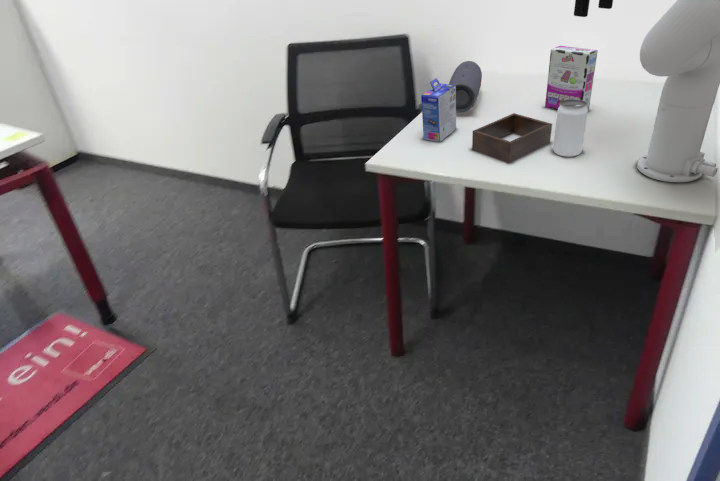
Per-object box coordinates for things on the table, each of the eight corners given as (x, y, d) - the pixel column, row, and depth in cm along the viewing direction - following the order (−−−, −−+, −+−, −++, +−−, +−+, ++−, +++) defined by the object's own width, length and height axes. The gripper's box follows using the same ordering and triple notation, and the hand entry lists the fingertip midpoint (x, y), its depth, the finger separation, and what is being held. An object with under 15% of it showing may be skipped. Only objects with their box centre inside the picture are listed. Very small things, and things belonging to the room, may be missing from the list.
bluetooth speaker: (477, 117, 152) (478, 82, 146) (444, 116, 154) (444, 82, 149) (482, 90, 170) (484, 58, 165) (453, 90, 172) (453, 59, 167)
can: (583, 157, 125) (590, 107, 119) (554, 157, 127) (560, 108, 120) (579, 146, 130) (586, 98, 124) (551, 146, 132) (557, 98, 125)
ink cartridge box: (438, 126, 149) (438, 73, 141) (456, 129, 146) (457, 75, 138) (421, 139, 142) (420, 85, 134) (440, 142, 139) (439, 87, 131)
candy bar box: (589, 110, 149) (599, 49, 140) (580, 115, 146) (589, 54, 137) (553, 102, 156) (560, 44, 147) (543, 107, 154) (550, 48, 145)
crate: (550, 142, 133) (552, 123, 131) (509, 163, 126) (510, 143, 123) (512, 131, 141) (513, 113, 139) (471, 149, 134) (472, 130, 131)
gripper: (597, -68, 108) (585, 21, 118) (643, -78, 117) (628, 6, 126) (565, -68, 113) (556, 17, 123) (611, -77, 122) (599, 4, 131)
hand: (592, 12), depth 124 cm, fingers open, 9 cm apart
